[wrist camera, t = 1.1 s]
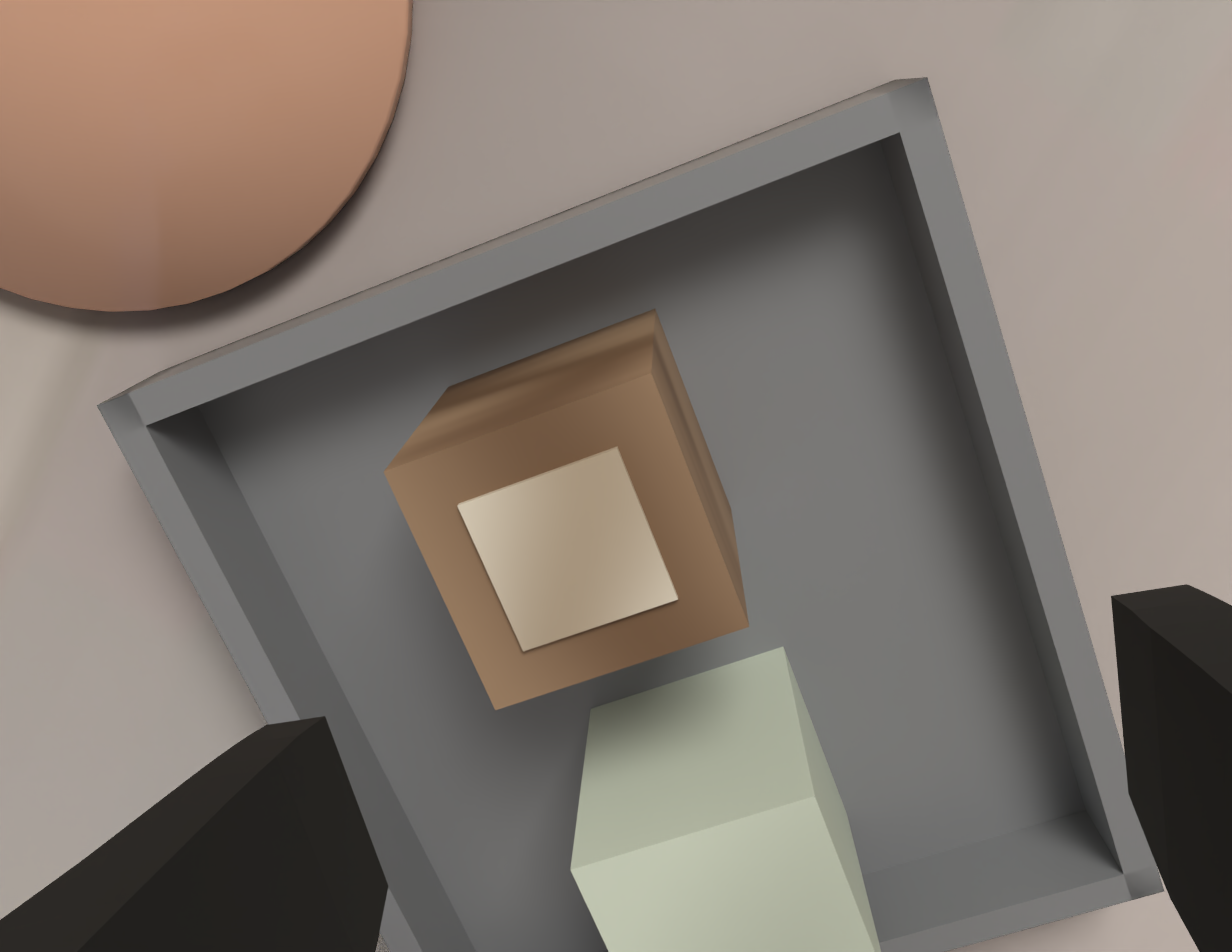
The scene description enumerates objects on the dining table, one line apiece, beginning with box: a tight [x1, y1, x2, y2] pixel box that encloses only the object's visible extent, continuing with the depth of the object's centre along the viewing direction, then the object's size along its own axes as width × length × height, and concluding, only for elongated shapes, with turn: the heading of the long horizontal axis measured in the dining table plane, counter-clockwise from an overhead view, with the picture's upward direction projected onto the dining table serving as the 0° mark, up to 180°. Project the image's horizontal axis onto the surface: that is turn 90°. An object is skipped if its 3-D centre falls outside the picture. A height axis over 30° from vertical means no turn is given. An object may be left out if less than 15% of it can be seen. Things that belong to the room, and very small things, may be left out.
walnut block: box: [384, 309, 749, 710], centre depth 19 cm, size 4×4×5 cm
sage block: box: [570, 647, 881, 952], centre depth 21 cm, size 4×4×5 cm
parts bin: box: [97, 77, 1164, 952], centre depth 21 cm, size 14×15×2 cm
